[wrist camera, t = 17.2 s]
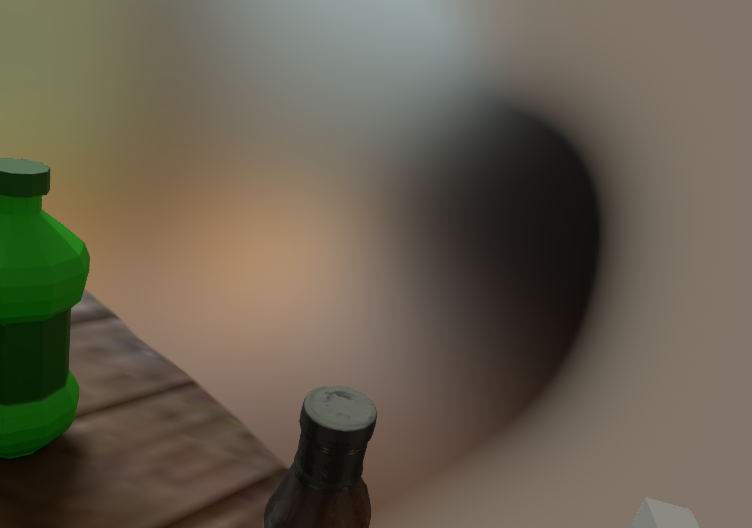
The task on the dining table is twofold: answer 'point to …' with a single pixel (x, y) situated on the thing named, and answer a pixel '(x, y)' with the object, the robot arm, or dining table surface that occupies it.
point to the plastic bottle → (35, 311)
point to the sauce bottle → (327, 464)
